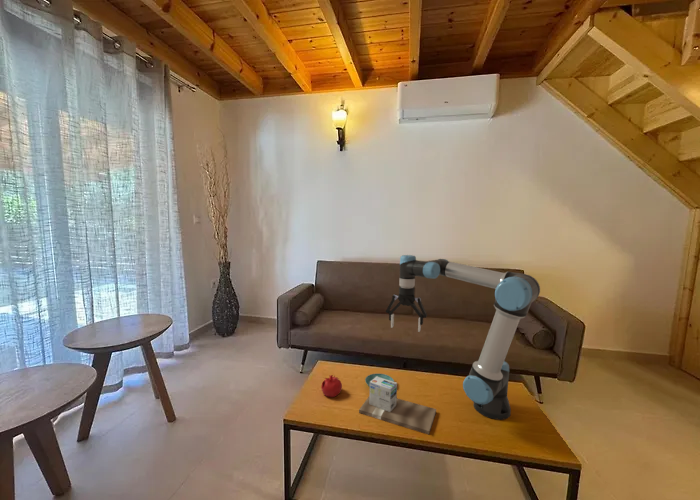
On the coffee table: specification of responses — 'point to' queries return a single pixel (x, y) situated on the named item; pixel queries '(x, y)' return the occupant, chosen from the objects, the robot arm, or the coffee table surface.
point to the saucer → (372, 376)
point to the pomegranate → (331, 386)
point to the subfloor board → (403, 415)
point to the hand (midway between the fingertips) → (405, 328)
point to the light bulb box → (383, 393)
